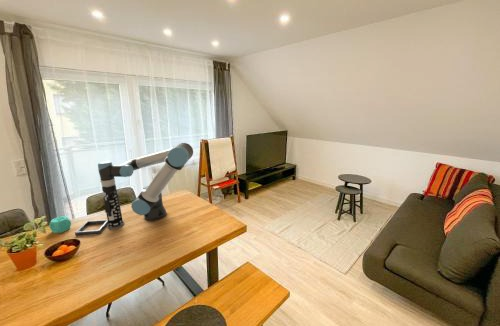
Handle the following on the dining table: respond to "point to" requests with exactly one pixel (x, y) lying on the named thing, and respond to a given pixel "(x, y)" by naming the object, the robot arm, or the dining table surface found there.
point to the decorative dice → (60, 224)
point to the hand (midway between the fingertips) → (114, 216)
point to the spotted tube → (115, 212)
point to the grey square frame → (91, 232)
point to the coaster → (116, 226)
